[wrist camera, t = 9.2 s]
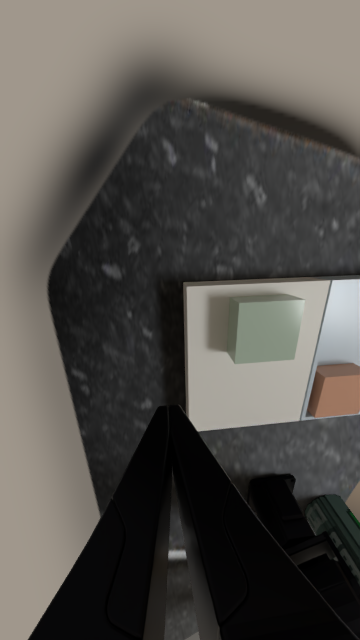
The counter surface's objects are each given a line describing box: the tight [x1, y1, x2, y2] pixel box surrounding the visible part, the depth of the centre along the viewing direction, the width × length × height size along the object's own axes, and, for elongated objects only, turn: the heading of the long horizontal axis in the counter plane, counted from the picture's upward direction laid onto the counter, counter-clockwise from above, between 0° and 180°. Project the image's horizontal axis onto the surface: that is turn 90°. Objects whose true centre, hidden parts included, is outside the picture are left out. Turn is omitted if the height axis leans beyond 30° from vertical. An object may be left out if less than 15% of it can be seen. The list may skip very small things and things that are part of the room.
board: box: [183, 277, 330, 431], centre depth 19 cm, size 15×12×2 cm
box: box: [300, 275, 360, 420], centre depth 20 cm, size 15×12×2 cm
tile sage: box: [227, 294, 305, 364], centre depth 16 cm, size 5×5×2 cm
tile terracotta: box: [307, 363, 360, 418], centre depth 21 cm, size 5×5×2 cm
